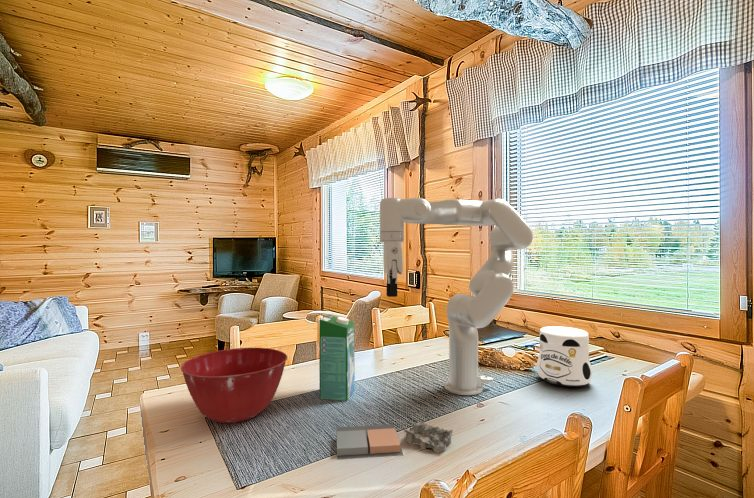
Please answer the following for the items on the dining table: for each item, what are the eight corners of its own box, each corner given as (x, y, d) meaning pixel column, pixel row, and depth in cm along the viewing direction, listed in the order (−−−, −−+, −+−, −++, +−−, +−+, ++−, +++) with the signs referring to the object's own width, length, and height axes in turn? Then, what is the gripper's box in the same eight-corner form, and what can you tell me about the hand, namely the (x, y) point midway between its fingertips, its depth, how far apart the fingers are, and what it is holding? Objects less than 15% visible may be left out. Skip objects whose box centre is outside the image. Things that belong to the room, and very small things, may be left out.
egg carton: (401, 445, 93) (401, 428, 93) (416, 432, 99) (416, 417, 99) (441, 459, 87) (441, 441, 86) (455, 444, 93) (455, 428, 93)
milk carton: (347, 401, 118) (346, 320, 118) (319, 398, 120) (319, 319, 120) (354, 390, 127) (354, 315, 127) (328, 388, 129) (328, 314, 128)
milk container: (541, 388, 128) (541, 335, 128) (533, 372, 145) (533, 324, 144) (598, 393, 124) (599, 338, 124) (583, 375, 141) (583, 326, 140)
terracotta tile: (394, 428, 96) (400, 444, 88) (394, 435, 96) (400, 452, 88) (367, 429, 95) (370, 446, 87) (367, 436, 95) (370, 454, 87)
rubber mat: (393, 426, 102) (393, 424, 102) (403, 457, 87) (403, 455, 87) (336, 429, 100) (336, 427, 100) (337, 461, 85) (337, 459, 85)
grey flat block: (365, 429, 95) (367, 446, 87) (365, 436, 95) (367, 454, 87) (336, 431, 94) (337, 448, 86) (336, 438, 94) (337, 456, 86)
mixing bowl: (187, 401, 118) (186, 351, 118) (281, 388, 128) (281, 342, 128) (174, 446, 92) (173, 382, 92) (294, 426, 102) (293, 368, 102)
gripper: (408, 237, 113) (408, 299, 113) (399, 238, 128) (399, 293, 128) (383, 237, 112) (383, 300, 112) (377, 238, 127) (377, 293, 127)
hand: (391, 296), depth 120 cm, fingers closed
